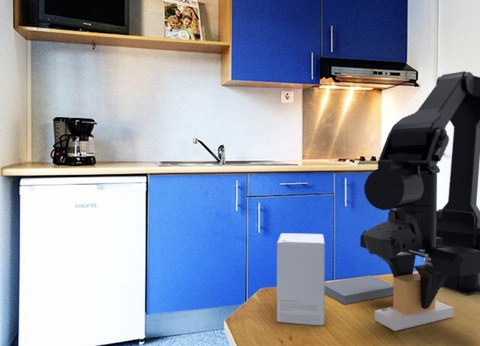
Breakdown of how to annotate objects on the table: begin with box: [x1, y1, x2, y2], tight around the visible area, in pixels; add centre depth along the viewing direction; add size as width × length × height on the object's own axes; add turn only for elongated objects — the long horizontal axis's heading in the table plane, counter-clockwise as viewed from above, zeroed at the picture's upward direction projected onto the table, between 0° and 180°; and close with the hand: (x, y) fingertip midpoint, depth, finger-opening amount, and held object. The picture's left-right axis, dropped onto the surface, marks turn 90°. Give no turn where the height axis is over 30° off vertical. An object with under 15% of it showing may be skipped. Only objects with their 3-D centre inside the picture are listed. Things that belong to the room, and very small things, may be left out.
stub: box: [374, 272, 454, 332], centre depth 58 cm, size 12×4×6 cm, turn 113°
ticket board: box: [325, 275, 394, 305], centre depth 70 cm, size 12×7×2 cm, turn 113°
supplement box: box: [276, 232, 326, 326], centre depth 60 cm, size 7×7×13 cm
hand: (414, 303), depth 58 cm, fingers open, 4 cm apart
